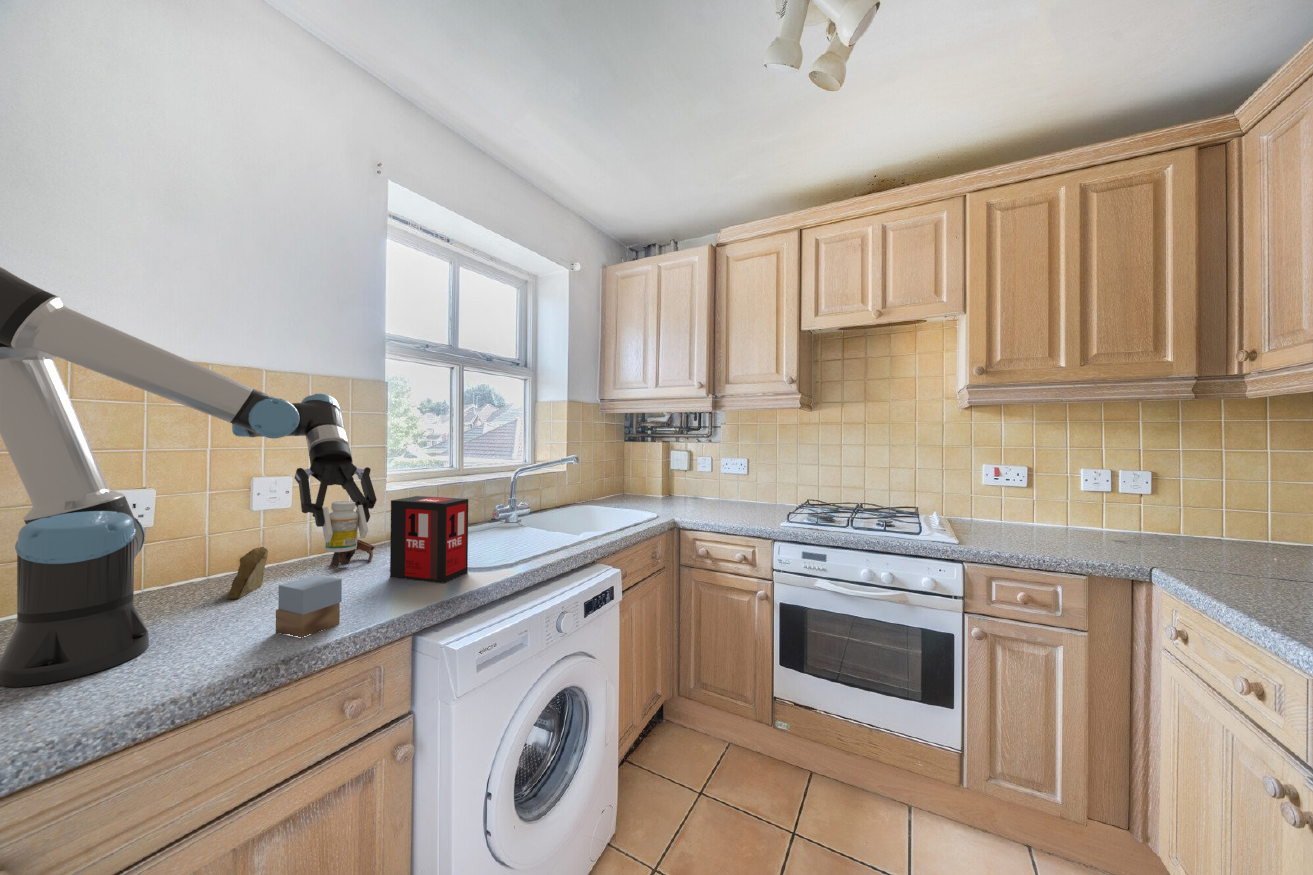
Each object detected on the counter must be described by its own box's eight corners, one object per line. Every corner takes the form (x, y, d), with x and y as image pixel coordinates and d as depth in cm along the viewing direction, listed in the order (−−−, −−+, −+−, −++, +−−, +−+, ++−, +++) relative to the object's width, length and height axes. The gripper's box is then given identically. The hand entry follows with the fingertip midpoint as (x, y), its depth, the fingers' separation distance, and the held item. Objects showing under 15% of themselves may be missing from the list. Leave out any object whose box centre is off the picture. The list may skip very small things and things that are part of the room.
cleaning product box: (390, 577, 118) (390, 500, 118) (416, 567, 127) (416, 495, 127) (444, 583, 114) (445, 503, 114) (467, 573, 123) (468, 498, 123)
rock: (244, 591, 100) (286, 571, 110) (219, 560, 100) (264, 543, 110) (215, 616, 102) (259, 595, 112) (190, 586, 102) (236, 567, 112)
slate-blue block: (302, 614, 83) (303, 590, 83) (278, 609, 86) (278, 585, 85) (341, 601, 90) (341, 578, 90) (317, 596, 92) (317, 574, 92)
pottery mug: (333, 562, 133) (350, 535, 136) (365, 575, 135) (381, 548, 138) (318, 562, 122) (338, 533, 125) (354, 576, 124) (372, 547, 127)
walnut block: (301, 639, 83) (301, 615, 83) (275, 633, 85) (275, 609, 85) (339, 624, 90) (339, 601, 90) (314, 619, 92) (314, 597, 92)
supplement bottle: (352, 551, 92) (355, 504, 92) (321, 553, 90) (323, 504, 90) (360, 545, 97) (362, 500, 97) (330, 546, 95) (332, 500, 95)
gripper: (371, 461, 111) (392, 541, 99) (273, 461, 97) (285, 554, 86) (379, 440, 107) (402, 520, 96) (279, 437, 93) (292, 530, 82)
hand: (347, 536), depth 91 cm, fingers closed on supplement bottle, 5 cm apart
